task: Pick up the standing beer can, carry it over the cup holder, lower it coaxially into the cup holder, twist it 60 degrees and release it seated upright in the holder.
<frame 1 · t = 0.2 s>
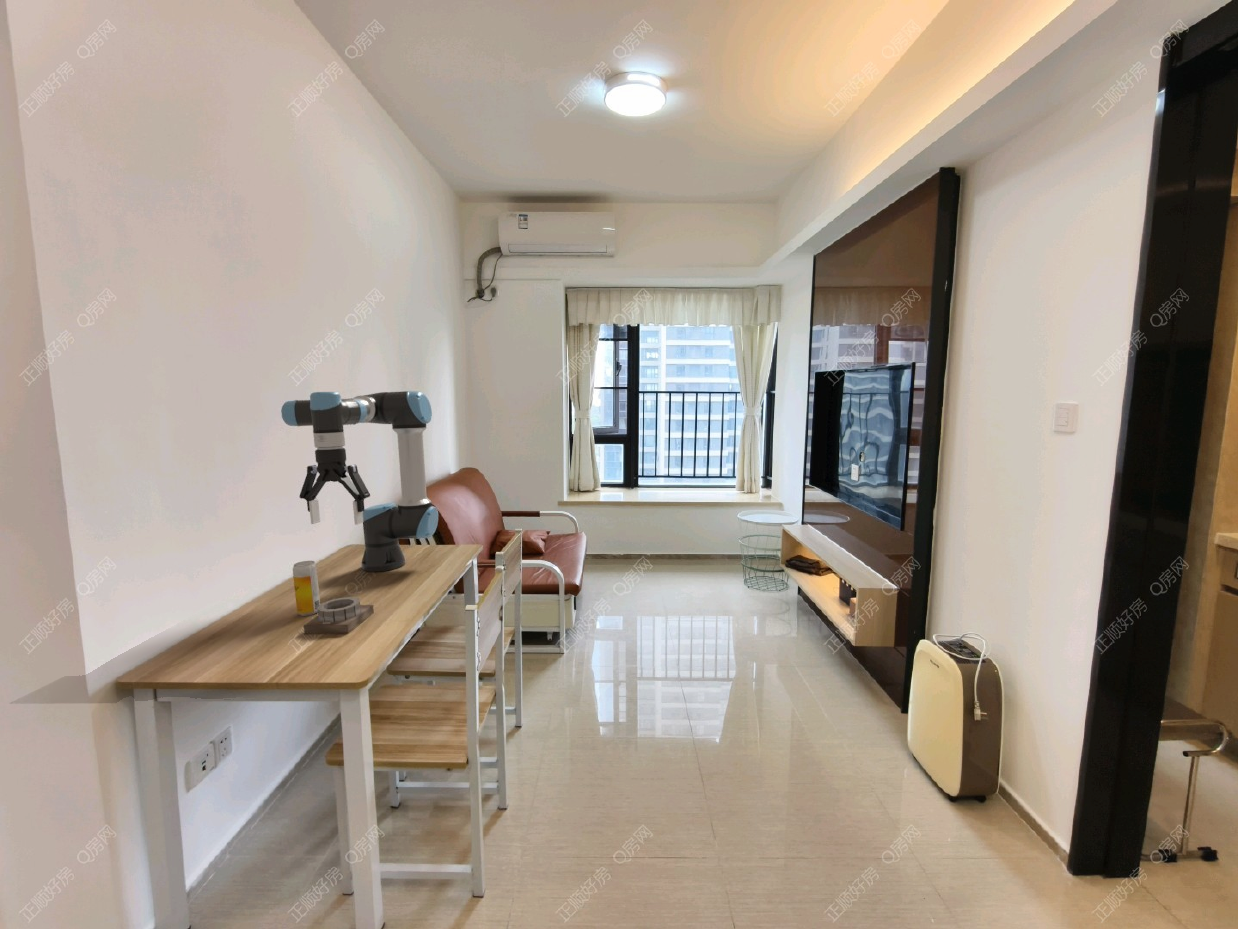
hand: (337, 523, 155), 28 cm above the table, fingers open, 13 cm apart
beer can: (309, 613, 162), on the table
cup holder: (340, 623, 154), on the table
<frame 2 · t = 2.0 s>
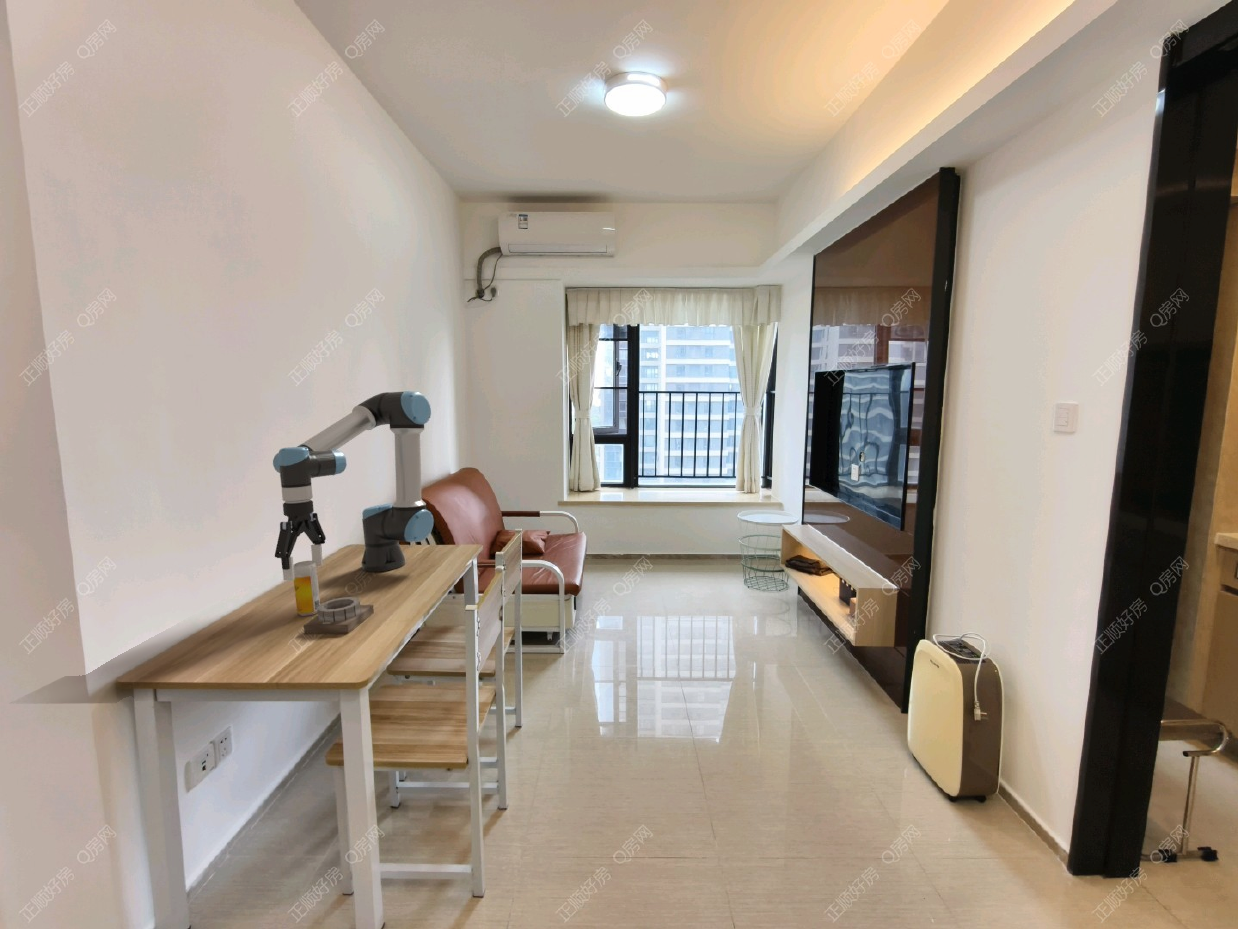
hand: (304, 572, 160), 12 cm above the table, fingers open, 13 cm apart
nothing on the table moved.
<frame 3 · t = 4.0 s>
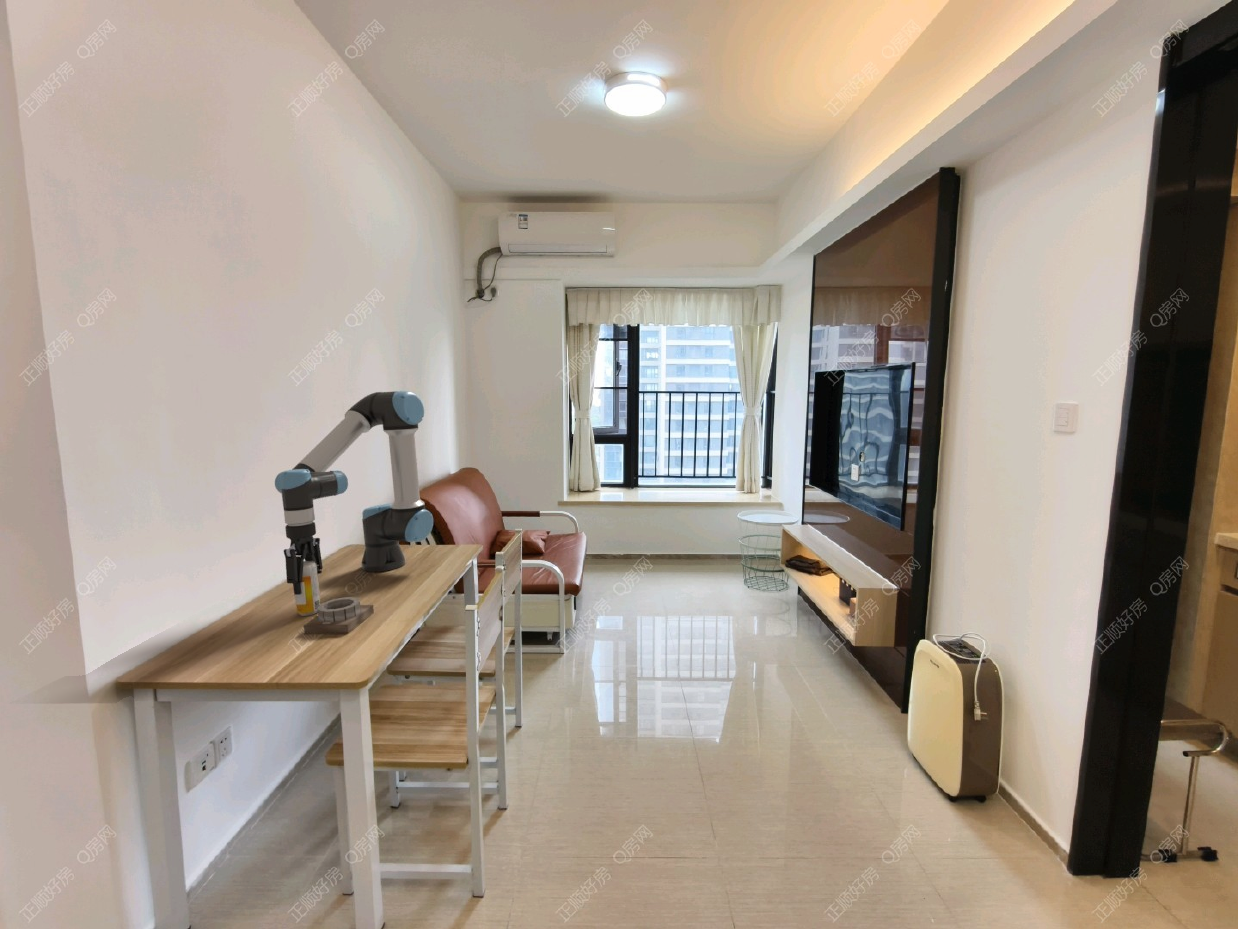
hand: (308, 599, 162), 4 cm above the table, fingers closed on beer can, 6 cm apart
beer can: (309, 613, 162), on the table, touching gripper
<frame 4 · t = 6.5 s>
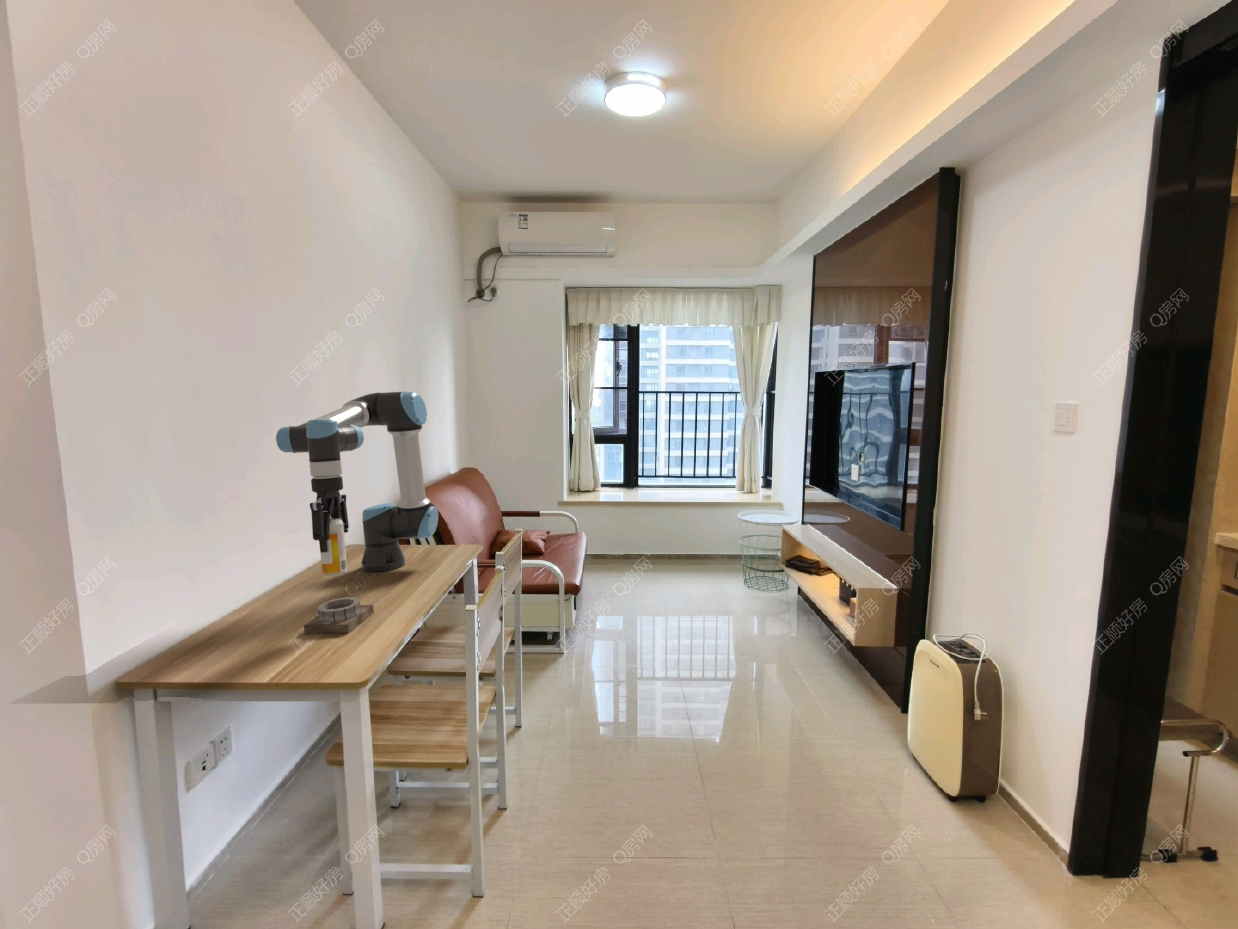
hand: (334, 559, 151), 18 cm above the table, fingers closed on beer can, 6 cm apart
beer can: (335, 574, 152), point 14 cm above the table, touching gripper
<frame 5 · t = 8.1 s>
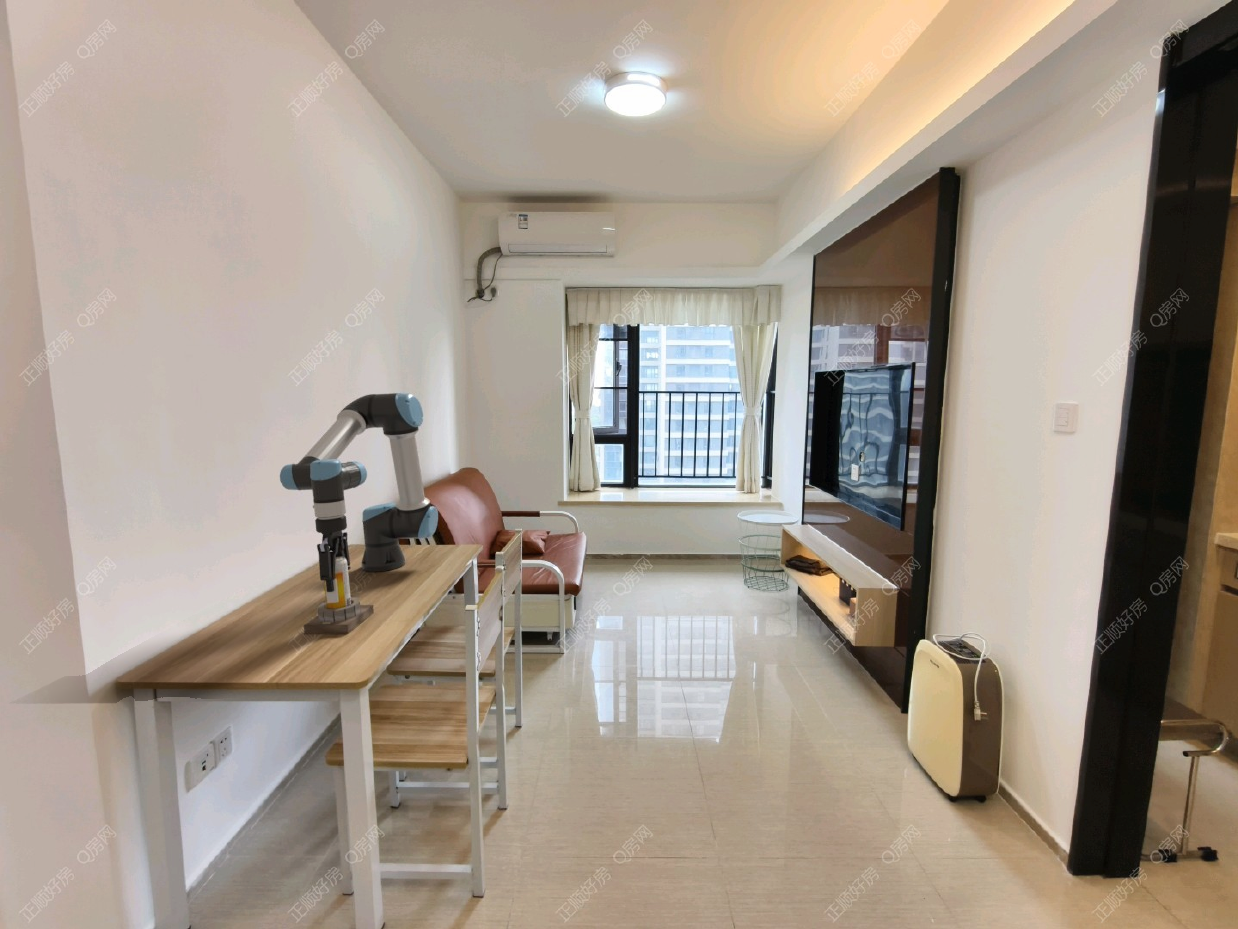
hand: (338, 597, 153), 7 cm above the table, fingers closed on beer can, 6 cm apart
beer can: (339, 611, 153), point 3 cm above the table, touching gripper
when the fingers open (7 cm above the table, at t = 9.2 s): beer can stays where it is, resting on cup holder.
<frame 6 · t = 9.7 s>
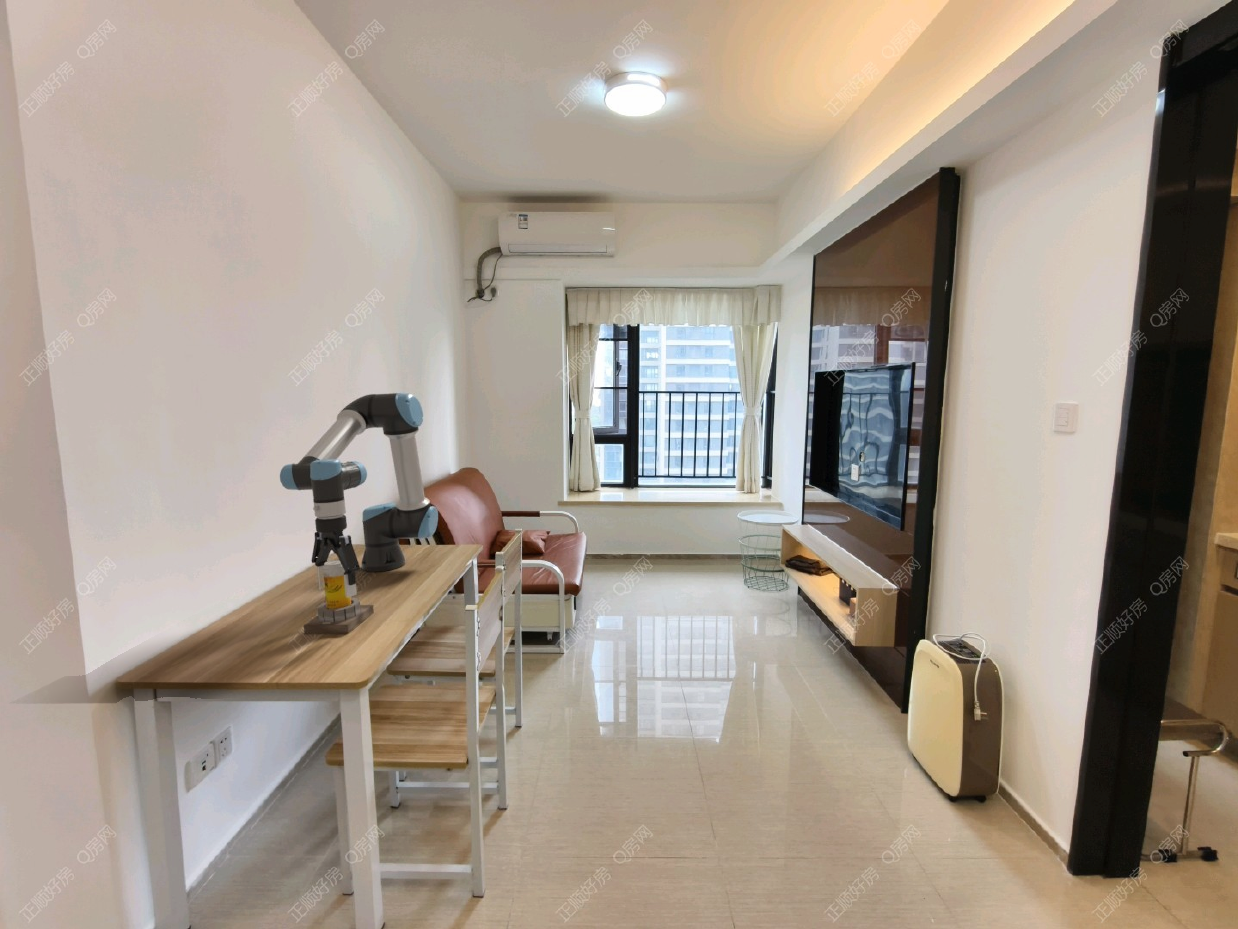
hand: (337, 592, 153), 9 cm above the table, fingers open, 12 cm apart
beer can: (340, 615, 153), point 2 cm above the table, touching cup holder
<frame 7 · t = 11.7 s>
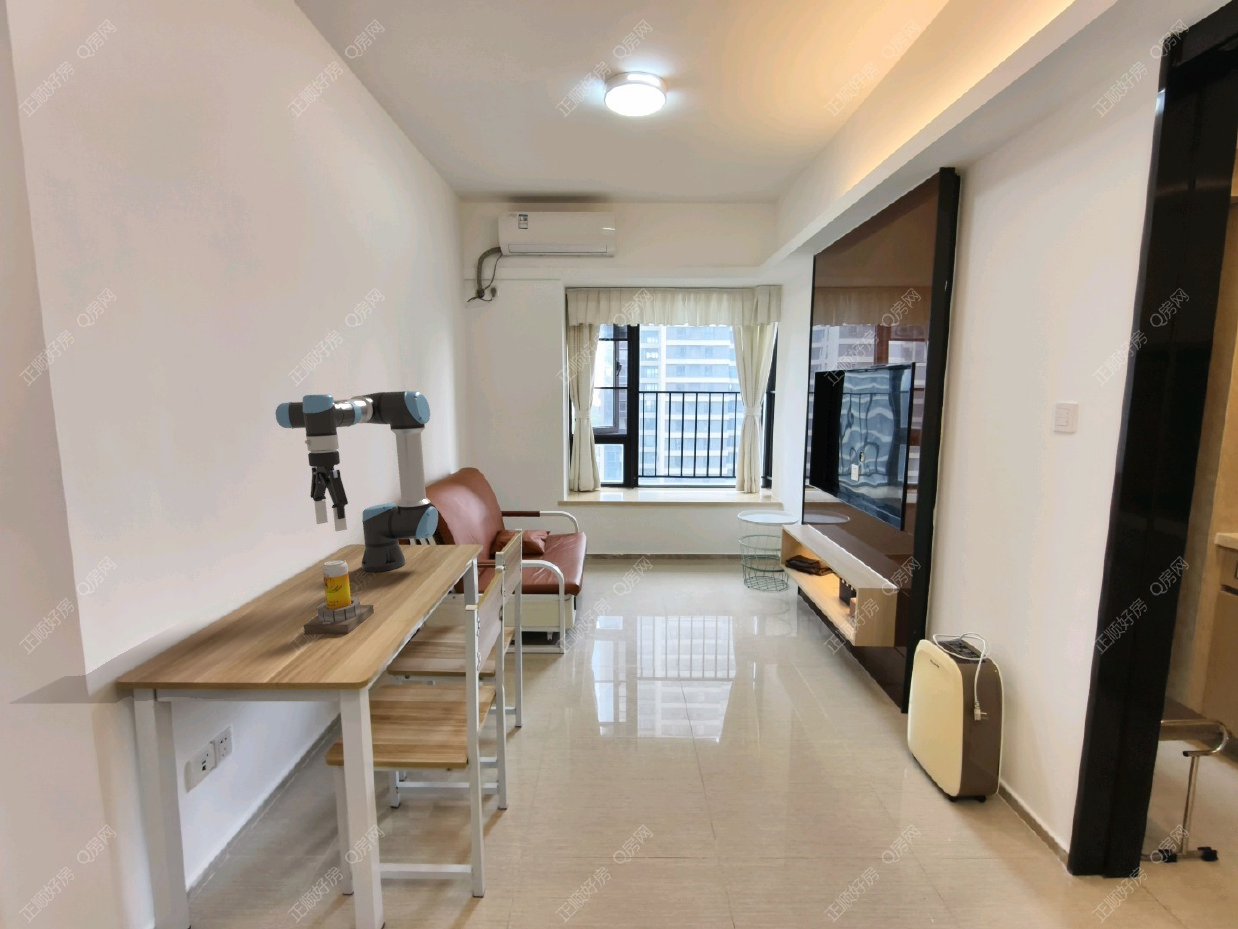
hand: (331, 526, 154), 27 cm above the table, fingers open, 13 cm apart
nothing on the table moved.
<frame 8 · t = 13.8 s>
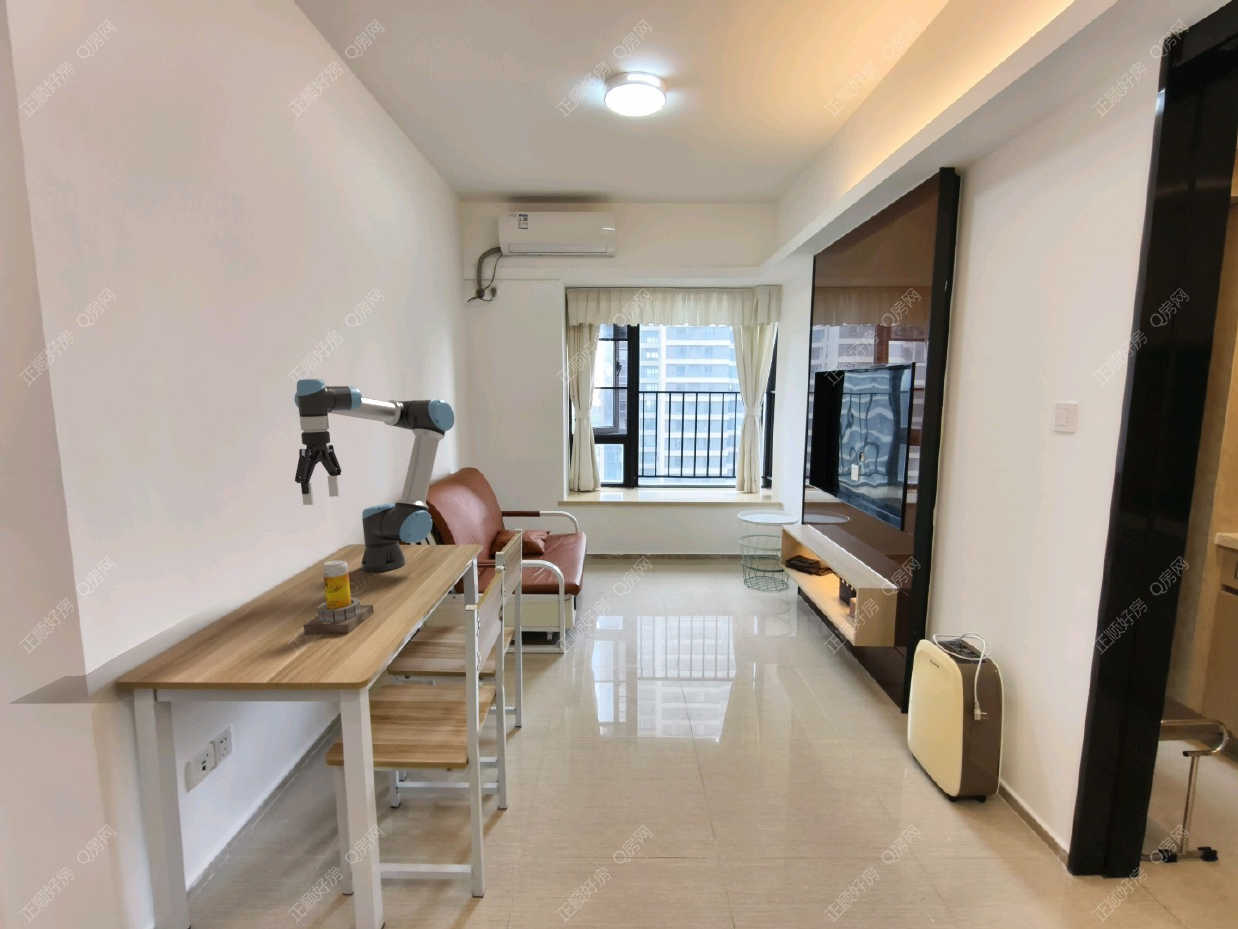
hand: (321, 500, 168), 32 cm above the table, fingers open, 13 cm apart
nothing on the table moved.
at the end: beer can 0.0 cm from the cup holder (horizontally); beer can tilted 0°; beer can point 2.3 cm above the table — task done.
